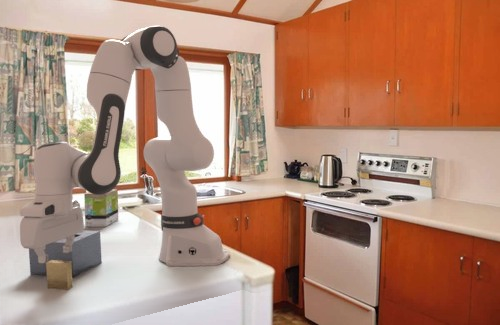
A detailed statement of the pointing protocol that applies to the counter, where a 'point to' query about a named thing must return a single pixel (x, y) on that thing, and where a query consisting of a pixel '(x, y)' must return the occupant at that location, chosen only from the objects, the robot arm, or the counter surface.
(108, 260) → the counter surface
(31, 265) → the money box
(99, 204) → the tea box
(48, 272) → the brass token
